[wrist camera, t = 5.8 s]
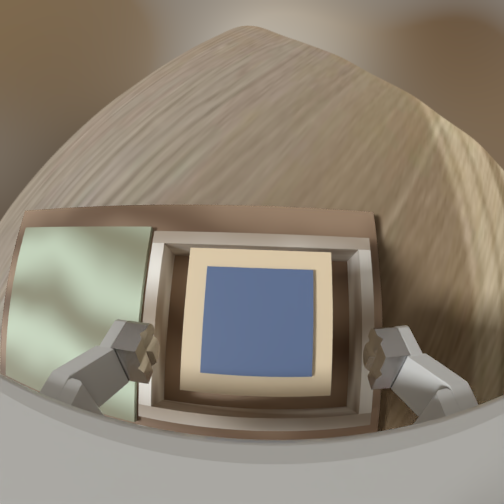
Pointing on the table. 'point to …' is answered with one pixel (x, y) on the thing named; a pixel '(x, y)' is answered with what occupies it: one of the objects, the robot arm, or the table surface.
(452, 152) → the table surface
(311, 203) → the table surface
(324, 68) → the table surface
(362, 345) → the sorting board
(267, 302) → the kraft box
